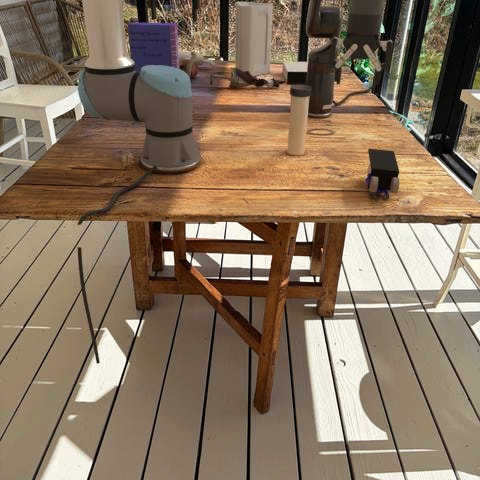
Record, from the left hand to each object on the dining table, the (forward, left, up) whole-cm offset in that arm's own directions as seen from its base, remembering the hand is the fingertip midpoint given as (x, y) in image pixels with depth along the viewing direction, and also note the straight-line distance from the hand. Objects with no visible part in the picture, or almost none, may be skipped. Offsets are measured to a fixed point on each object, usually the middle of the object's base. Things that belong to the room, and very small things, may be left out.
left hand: (174, 20), depth 152 cm
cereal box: (+22, +16, -28) cm, 39 cm away
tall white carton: (+63, -16, -28) cm, 71 cm away
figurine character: (-54, -65, -28) cm, 89 cm away
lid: (-34, -44, -11) cm, 57 cm away
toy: (+65, +18, -28) cm, 73 cm away
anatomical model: (+41, +10, -28) cm, 50 cm away
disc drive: (+57, -39, -28) cm, 75 cm away
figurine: (+34, -18, -28) cm, 47 cm away
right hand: (-38, -58, -8) cm, 70 cm away
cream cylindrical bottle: (-34, -44, -28) cm, 62 cm away
